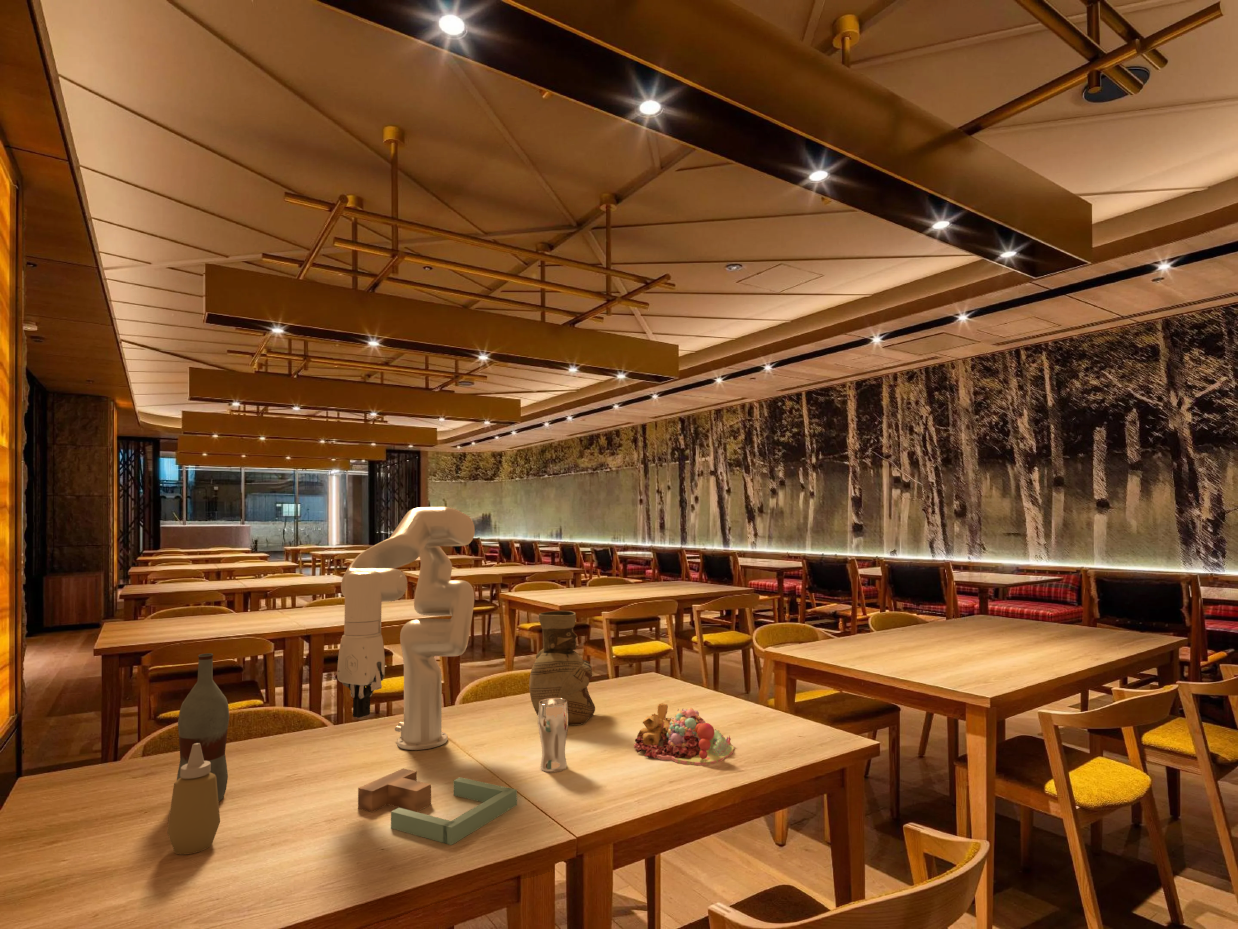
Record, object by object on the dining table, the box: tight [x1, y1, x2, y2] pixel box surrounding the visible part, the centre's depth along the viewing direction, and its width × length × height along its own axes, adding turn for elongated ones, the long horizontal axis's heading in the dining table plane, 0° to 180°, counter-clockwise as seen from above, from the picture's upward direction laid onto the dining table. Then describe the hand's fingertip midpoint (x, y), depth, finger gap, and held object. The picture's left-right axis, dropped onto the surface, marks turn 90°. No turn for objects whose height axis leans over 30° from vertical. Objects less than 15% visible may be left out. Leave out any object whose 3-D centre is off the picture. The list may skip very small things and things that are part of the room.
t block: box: [357, 768, 432, 813], centre depth 141 cm, size 12×12×4 cm
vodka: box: [176, 652, 230, 802], centre depth 144 cm, size 9×9×30 cm
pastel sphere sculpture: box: [633, 702, 735, 766], centre depth 172 cm, size 25×24×9 cm
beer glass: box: [537, 698, 569, 773], centre depth 159 cm, size 7×7×15 cm
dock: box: [390, 776, 518, 846], centre depth 134 cm, size 15×19×3 cm
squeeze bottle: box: [167, 743, 221, 855], centre depth 123 cm, size 8×8×18 cm
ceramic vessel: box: [528, 610, 596, 726], centre depth 199 cm, size 19×21×30 cm
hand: (361, 715), depth 147 cm, fingers closed
